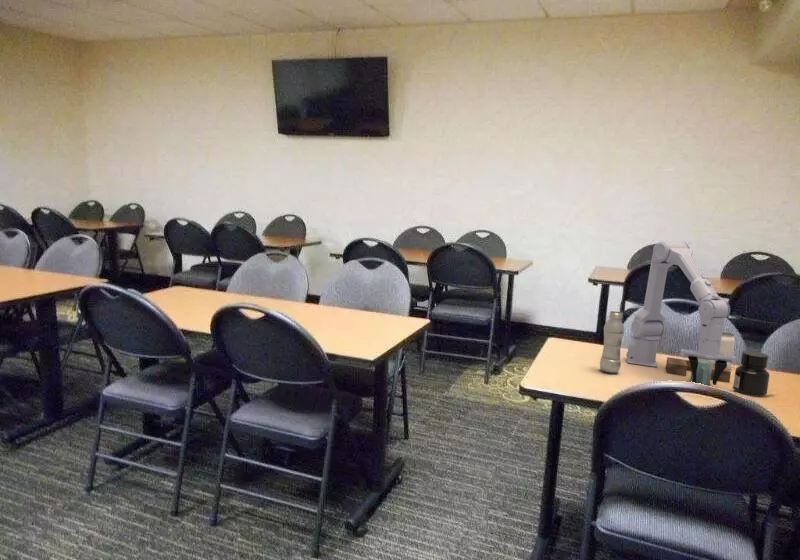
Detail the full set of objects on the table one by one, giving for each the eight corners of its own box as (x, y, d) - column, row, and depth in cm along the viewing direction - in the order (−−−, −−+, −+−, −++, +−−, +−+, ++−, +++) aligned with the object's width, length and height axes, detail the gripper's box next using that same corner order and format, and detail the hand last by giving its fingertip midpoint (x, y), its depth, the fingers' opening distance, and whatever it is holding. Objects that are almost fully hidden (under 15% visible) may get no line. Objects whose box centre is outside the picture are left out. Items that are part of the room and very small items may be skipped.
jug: (692, 388, 174) (695, 366, 173) (689, 378, 184) (691, 357, 183) (713, 391, 172) (716, 369, 171) (708, 381, 182) (711, 360, 181)
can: (733, 370, 195) (738, 336, 193) (713, 368, 196) (718, 335, 195) (727, 365, 202) (731, 332, 200) (707, 363, 203) (711, 330, 201)
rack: (667, 373, 188) (668, 363, 188) (665, 367, 196) (667, 357, 195) (729, 382, 182) (730, 372, 181) (725, 375, 189) (726, 365, 189)
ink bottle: (740, 384, 180) (746, 348, 178) (771, 393, 173) (777, 355, 171) (727, 390, 174) (732, 352, 172) (758, 399, 167) (764, 359, 166)
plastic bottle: (620, 371, 188) (627, 311, 185) (619, 376, 182) (625, 315, 179) (600, 367, 191) (606, 309, 188) (597, 373, 185) (604, 312, 182)
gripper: (684, 338, 170) (678, 382, 172) (740, 345, 164) (733, 390, 167) (682, 333, 176) (676, 375, 178) (735, 340, 171) (729, 383, 173)
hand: (704, 382), depth 173 cm, fingers open, 5 cm apart
